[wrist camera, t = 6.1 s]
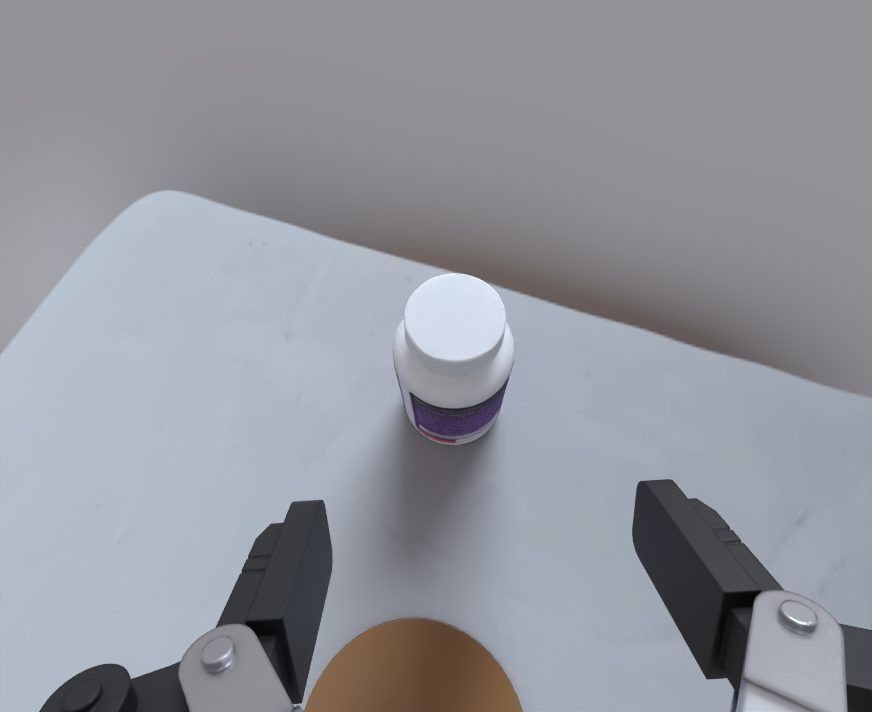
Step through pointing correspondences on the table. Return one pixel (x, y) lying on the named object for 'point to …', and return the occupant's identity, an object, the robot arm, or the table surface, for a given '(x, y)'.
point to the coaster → (413, 673)
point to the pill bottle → (453, 358)
